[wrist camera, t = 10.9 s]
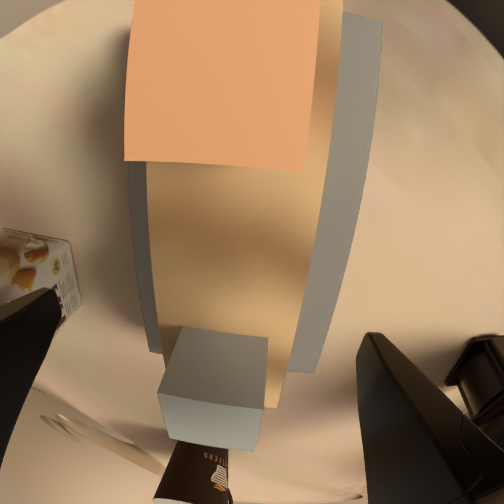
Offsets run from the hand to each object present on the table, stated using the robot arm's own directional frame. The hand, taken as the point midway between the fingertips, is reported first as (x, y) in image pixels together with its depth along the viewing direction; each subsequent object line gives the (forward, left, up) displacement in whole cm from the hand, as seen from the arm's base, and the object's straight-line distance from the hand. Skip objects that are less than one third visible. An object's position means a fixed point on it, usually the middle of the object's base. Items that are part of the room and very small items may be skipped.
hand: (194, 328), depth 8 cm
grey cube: (-6, 0, -5) cm, 8 cm away
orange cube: (+6, 0, -5) cm, 8 cm away
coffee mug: (-33, +3, -12) cm, 35 cm away
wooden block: (0, 0, -9) cm, 9 cm away
